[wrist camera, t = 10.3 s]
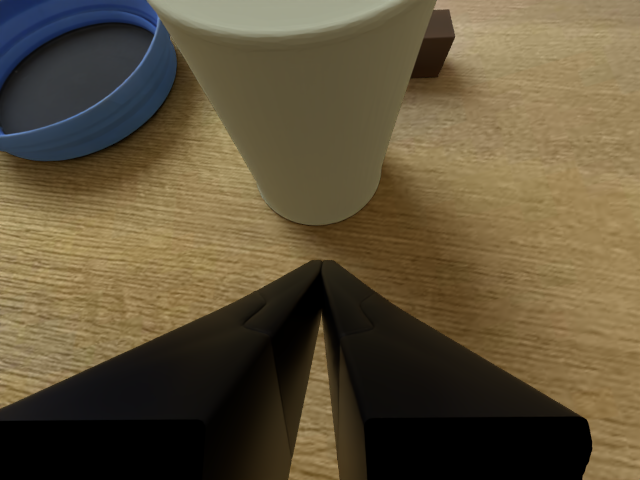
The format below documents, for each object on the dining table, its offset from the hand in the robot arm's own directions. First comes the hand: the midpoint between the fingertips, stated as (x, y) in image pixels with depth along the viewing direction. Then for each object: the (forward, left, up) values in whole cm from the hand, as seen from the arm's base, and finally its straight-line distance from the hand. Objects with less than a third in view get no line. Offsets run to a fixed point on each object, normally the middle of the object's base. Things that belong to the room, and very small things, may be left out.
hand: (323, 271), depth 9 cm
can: (+3, -8, -6) cm, 11 cm away
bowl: (+26, -10, -6) cm, 29 cm away
